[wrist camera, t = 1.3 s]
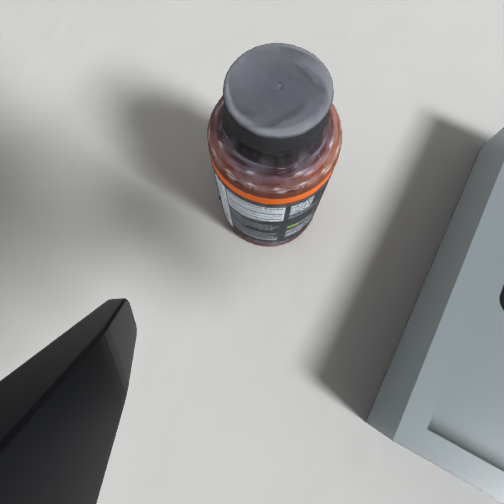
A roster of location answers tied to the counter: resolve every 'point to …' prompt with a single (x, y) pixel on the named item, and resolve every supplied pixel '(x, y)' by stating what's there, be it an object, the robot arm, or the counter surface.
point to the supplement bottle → (274, 142)
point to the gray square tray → (457, 343)
